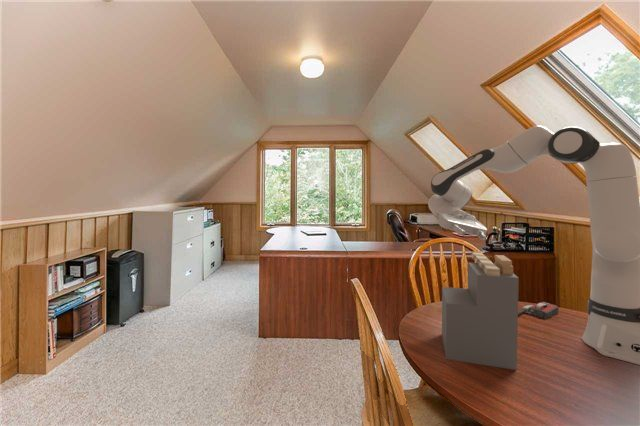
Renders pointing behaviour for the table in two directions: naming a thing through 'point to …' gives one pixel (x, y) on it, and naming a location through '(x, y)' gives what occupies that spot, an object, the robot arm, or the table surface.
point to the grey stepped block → (482, 317)
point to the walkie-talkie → (540, 310)
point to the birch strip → (485, 264)
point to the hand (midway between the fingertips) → (473, 235)
